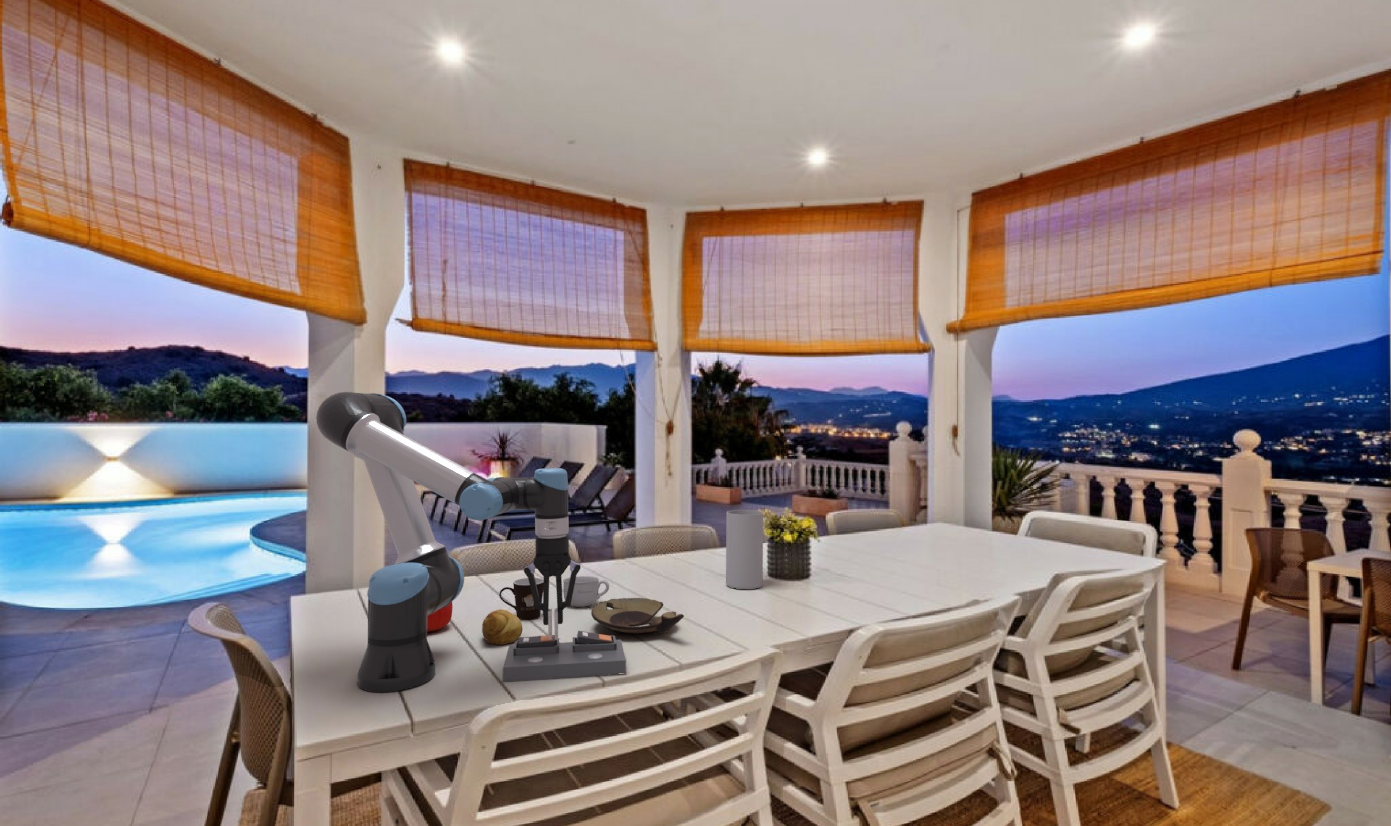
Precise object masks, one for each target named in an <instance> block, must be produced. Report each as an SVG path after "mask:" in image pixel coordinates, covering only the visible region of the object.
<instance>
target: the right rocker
mask: <svg viewBox="0 0 1391 826" xmlns="http://www.w3.org/2000/svg"><path fill="white" fill-rule="evenodd" d="M576 637H577V642H581V643H588V644H608V643H613V641H612V636H611V635H607V634H600V633H595V632H588V631H583V630H582V631H581V630H577V635H576Z"/></svg>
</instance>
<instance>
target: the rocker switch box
mask: <svg viewBox="0 0 1391 826" xmlns="http://www.w3.org/2000/svg"><path fill="white" fill-rule="evenodd" d="M610 636H612V641H613V643H608V644H588V643H581V642H577V636H575V637H573V636H572V641H571V642H570V641H569V642H568V641H567V642H566V641H565V642H560V637H558V640H555V646H553V647H534V648H518V642H519V639H517V640H516V641H514V644H513V645H512V644H511V645H508V649H507V652H506V656H505V659H504V663H503V667H502V682H503V683H504V682H506V683H507V682H520V681H519V680H524V681H537V680H538V679H539V680H552V679H553V680H554V679H568V678H569V679H570V678H583V677H585V676H587V677H600V676H599V675H603V676H609V675H608V674H619V673H626V672H627V671H626V669H627V667H626V665H627V663H626V662H627V659H626V655H625V652H624V646H623V642H622V639H616V636H615V635H610ZM626 674H627V673H626ZM619 675H620V674H619ZM585 678H586V677H585Z"/></svg>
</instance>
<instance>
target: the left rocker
mask: <svg viewBox="0 0 1391 826" xmlns="http://www.w3.org/2000/svg"><path fill="white" fill-rule="evenodd" d="M518 640H519V642H518V648H534V647H553V646H555V634H552V640H548V635H535V636H522V637H521V636H520V637H519V638H518Z"/></svg>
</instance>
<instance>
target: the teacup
mask: <svg viewBox="0 0 1391 826" xmlns="http://www.w3.org/2000/svg"><path fill="white" fill-rule="evenodd" d="M562 581H563V582H562V583H563V585H562V592H563V599H564V601H566V596H567V591H568V586H569V581H570V577H566V578H564V579H563V580H562ZM601 584H604V586H605V588H604V590H603V591H602V592H600V593H599V589H600V587H601ZM609 589H610V584H609V582H608V581H607V580H605V579H601V580H600V578H599V577H597V576H591V575H590V576H589V575H578V576H577V575H576V580H575V585H574V590H573V595H572V600H571V605H570V607H576V608H580V607H581V608H583V607H589V606H591V605H593V604H594V603H595V602H596V601H597V600H600V599H601V597H602V596H604V595H605V594H607V593H608V591H609Z"/></svg>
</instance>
